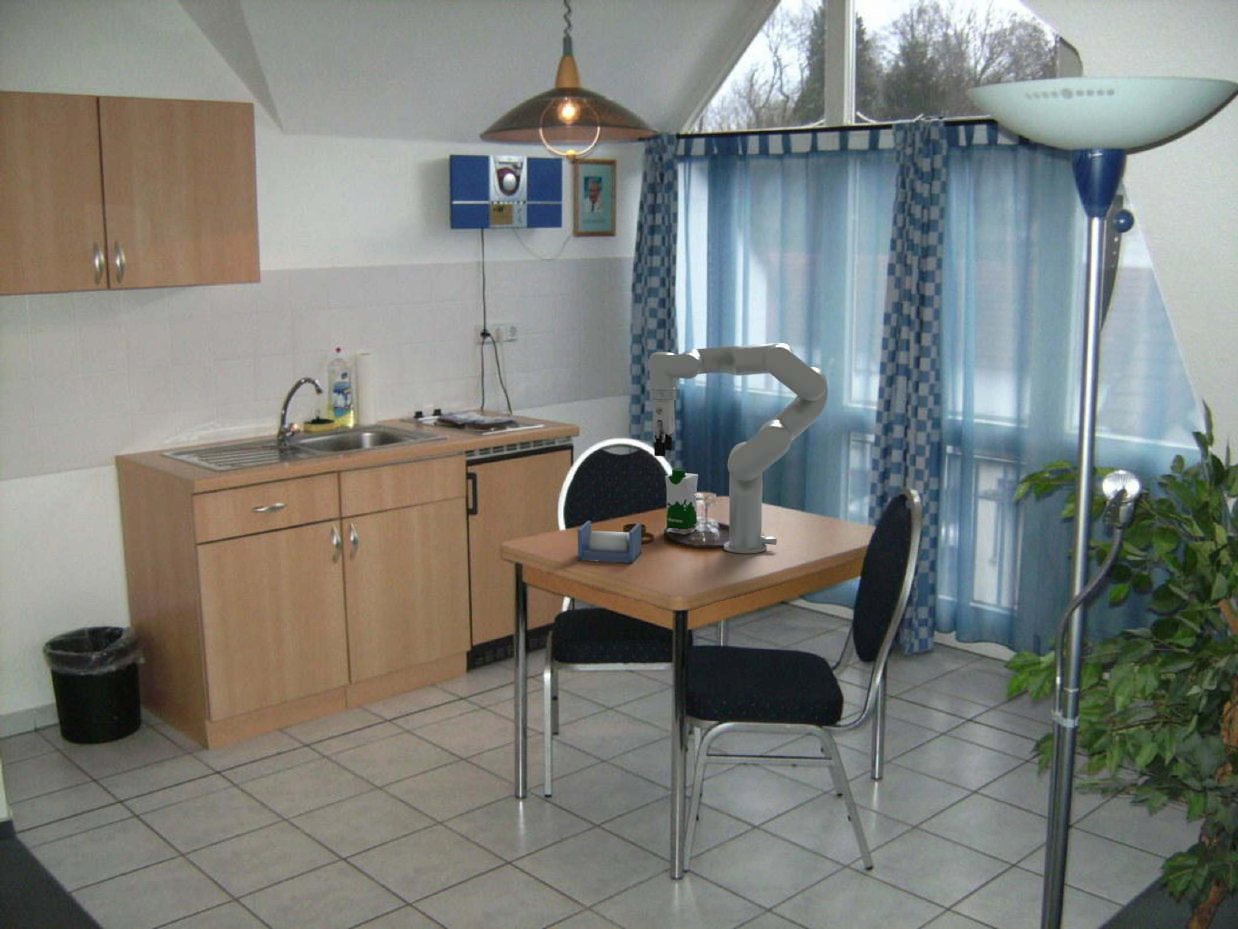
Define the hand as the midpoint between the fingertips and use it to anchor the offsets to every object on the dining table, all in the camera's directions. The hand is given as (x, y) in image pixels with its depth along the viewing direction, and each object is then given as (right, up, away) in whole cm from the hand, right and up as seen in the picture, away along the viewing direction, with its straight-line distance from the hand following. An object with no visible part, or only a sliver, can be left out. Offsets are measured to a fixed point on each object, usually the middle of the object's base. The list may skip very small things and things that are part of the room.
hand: (663, 452), depth 371 cm
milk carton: (+7, -24, +23) cm, 34 cm away
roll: (-15, -29, -5) cm, 33 cm away
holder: (-16, -30, -5) cm, 34 cm away
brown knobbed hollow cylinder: (-11, -28, +11) cm, 32 cm away
